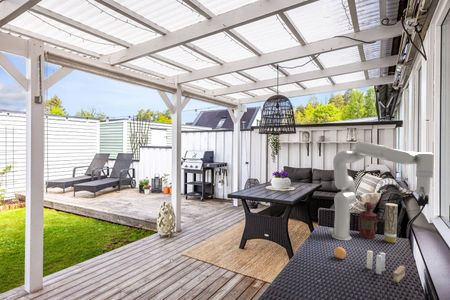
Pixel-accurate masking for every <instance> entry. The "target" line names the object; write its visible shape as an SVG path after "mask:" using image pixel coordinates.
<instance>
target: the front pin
mask: <svg viewBox="0 0 450 300" xmlns="http://www.w3.org/2000/svg"><path fill="white" fill-rule="evenodd" d="M373 253H374V252H373V251H372V250H370V249H369V250H367V251H366V268H367V269H368V270H372V269H373V255H374V254H373Z"/></svg>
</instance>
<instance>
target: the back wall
mask: <svg viewBox="0 0 450 300" xmlns="http://www.w3.org/2000/svg"><path fill="white" fill-rule="evenodd" d="M405 275H406V266H405V265H402V264H401V265H399V266H398V267H397V268H396V270H394V271H393V281H392V282H394V283H397V284H399V282H401V281H402V279H403V278H404V277H405Z"/></svg>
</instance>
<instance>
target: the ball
mask: <svg viewBox="0 0 450 300" xmlns="http://www.w3.org/2000/svg"><path fill="white" fill-rule="evenodd" d="M333 254H334V256H335V257H336V258H337V259H344V258H346V255H347V252H346V250H345V249H344V248H343V247H342V246H337V247H335V248H334V250H333Z"/></svg>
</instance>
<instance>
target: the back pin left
mask: <svg viewBox="0 0 450 300" xmlns="http://www.w3.org/2000/svg"><path fill="white" fill-rule="evenodd" d="M379 255H381V256H382V272H385V270H386V253H385V252H382V251H381V252H379Z"/></svg>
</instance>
